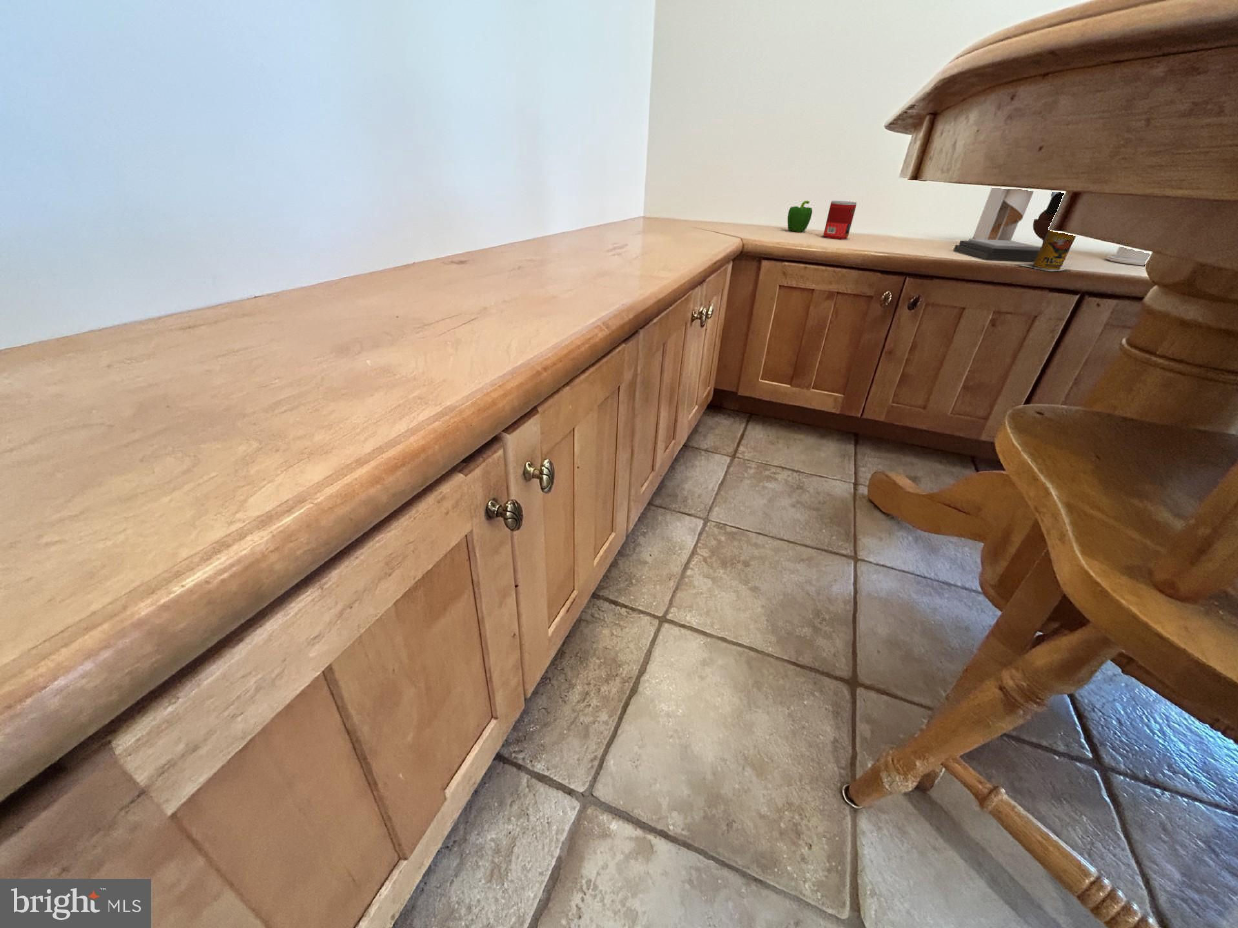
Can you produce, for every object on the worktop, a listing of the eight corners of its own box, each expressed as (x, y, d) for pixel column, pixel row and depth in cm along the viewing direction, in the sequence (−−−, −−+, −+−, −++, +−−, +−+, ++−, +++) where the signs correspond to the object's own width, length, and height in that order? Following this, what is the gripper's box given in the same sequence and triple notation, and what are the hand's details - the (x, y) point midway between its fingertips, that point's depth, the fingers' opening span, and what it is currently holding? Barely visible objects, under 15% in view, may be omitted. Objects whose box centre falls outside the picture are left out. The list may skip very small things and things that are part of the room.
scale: (1010, 253, 155) (1014, 242, 153) (1047, 262, 141) (1053, 251, 140) (953, 250, 154) (957, 240, 153) (985, 260, 141) (990, 248, 139)
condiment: (1052, 272, 128) (1077, 220, 122) (1017, 265, 134) (1039, 216, 128) (1067, 270, 131) (1091, 220, 125) (1032, 264, 137) (1054, 216, 131)
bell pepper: (787, 232, 178) (794, 201, 173) (782, 229, 185) (788, 199, 180) (811, 233, 178) (818, 202, 173) (804, 230, 185) (811, 200, 180)
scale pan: (1009, 245, 152) (1011, 240, 152) (1039, 252, 141) (1041, 247, 140) (967, 243, 152) (969, 238, 151) (994, 250, 141) (996, 245, 140)
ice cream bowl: (1070, 259, 149) (1097, 203, 141) (1029, 256, 151) (1054, 200, 143) (1051, 253, 158) (1076, 200, 150) (1013, 251, 159) (1035, 198, 152)
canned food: (849, 240, 166) (859, 203, 160) (825, 238, 167) (833, 201, 161) (844, 237, 173) (853, 201, 167) (820, 235, 174) (829, 200, 168)
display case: (982, 248, 162) (1033, 117, 143) (970, 244, 170) (1017, 120, 152) (1021, 251, 160) (1078, 119, 141) (1007, 246, 169) (1059, 121, 150)
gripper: (1152, 135, 110) (1108, 221, 119) (1088, 138, 124) (1054, 214, 133) (1119, 133, 110) (1077, 219, 118) (1059, 136, 124) (1026, 212, 133)
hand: (1065, 216), depth 126 cm, fingers open, 9 cm apart
